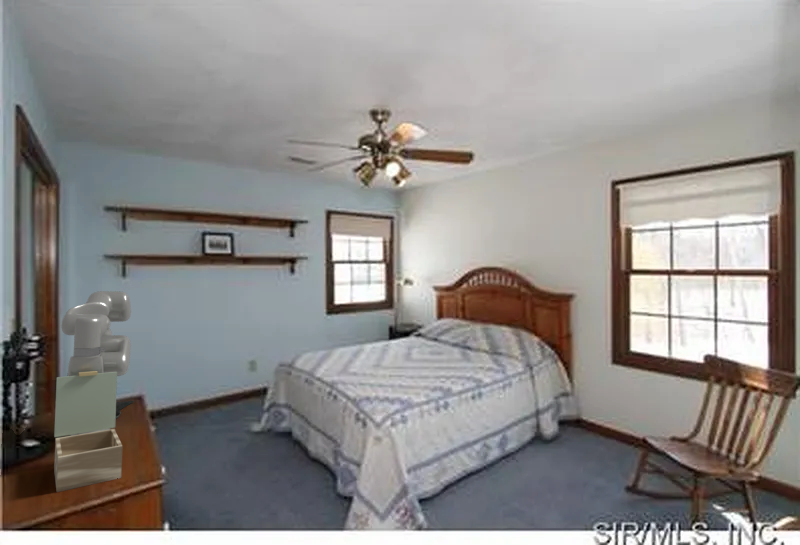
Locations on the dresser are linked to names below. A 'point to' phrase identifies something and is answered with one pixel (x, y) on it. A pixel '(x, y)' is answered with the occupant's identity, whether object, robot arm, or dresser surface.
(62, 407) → the lid
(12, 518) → the dresser surface
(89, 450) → the box
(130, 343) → the robot arm
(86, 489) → the dresser surface
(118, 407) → the sculpture
